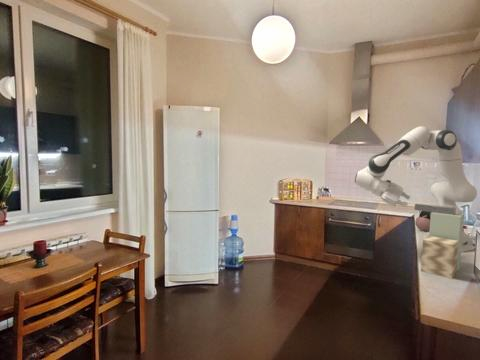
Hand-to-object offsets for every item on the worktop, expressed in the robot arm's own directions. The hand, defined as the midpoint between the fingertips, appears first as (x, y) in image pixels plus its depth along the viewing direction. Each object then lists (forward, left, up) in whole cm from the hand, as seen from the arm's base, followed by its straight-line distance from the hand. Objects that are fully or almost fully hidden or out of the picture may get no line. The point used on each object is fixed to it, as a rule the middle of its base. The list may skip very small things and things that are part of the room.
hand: (408, 201), depth 162 cm
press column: (-7, +17, -29) cm, 35 cm away
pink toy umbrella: (-58, -44, -30) cm, 79 cm away
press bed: (+3, +24, -29) cm, 38 cm away
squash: (-80, -61, -30) cm, 105 cm away
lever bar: (-4, +12, -3) cm, 13 cm away
